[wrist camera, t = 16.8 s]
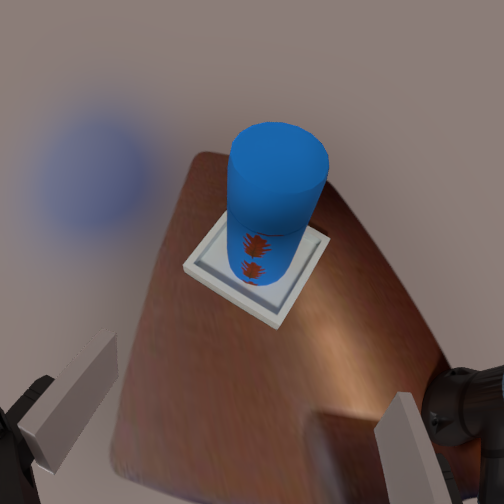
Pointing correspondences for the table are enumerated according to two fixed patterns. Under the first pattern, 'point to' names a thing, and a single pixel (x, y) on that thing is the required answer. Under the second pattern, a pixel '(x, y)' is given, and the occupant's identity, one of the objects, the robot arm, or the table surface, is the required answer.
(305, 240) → the tray
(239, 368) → the table surface
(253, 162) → the thermos
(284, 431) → the table surface
